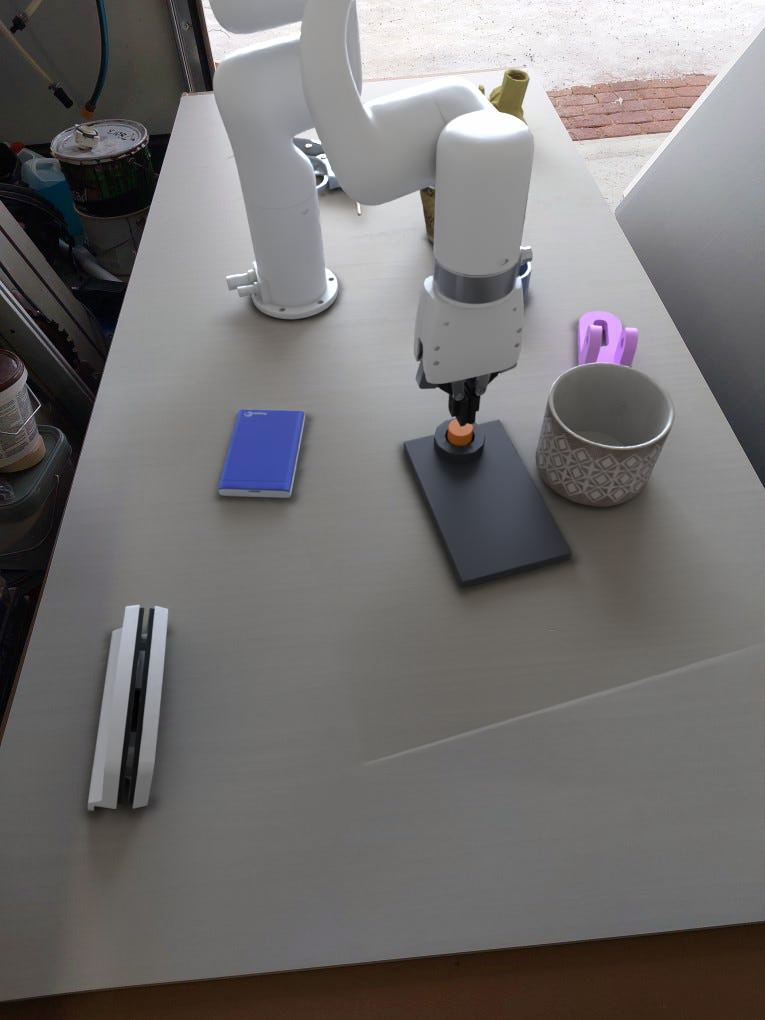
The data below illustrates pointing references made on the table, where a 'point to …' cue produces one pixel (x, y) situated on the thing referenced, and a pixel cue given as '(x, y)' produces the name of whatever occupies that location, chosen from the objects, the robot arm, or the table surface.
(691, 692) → the table surface
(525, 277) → the blue cup
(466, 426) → the button
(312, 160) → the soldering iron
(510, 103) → the ball valve
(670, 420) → the planter
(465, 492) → the scale
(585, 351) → the bracket
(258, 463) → the hard drive
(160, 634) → the white slotted block
